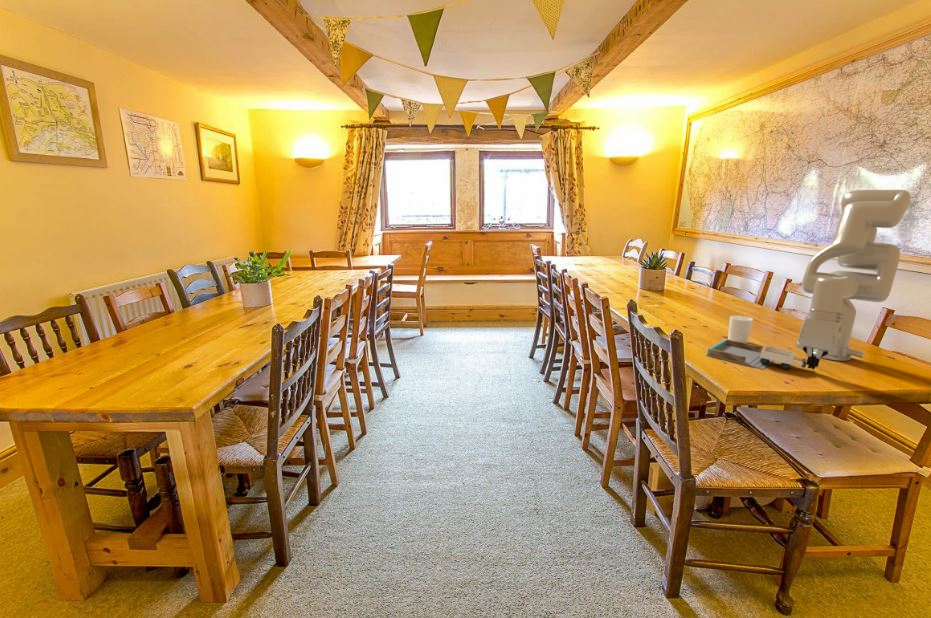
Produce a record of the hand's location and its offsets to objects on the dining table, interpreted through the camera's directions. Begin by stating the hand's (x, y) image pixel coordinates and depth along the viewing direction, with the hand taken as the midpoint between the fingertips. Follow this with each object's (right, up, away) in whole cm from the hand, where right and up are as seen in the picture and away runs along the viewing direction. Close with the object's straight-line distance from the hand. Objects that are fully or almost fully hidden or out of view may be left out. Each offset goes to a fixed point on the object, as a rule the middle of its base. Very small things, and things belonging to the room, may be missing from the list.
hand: (811, 367), depth 143 cm
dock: (-13, +2, +15) cm, 20 cm away
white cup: (-5, +6, +32) cm, 33 cm away
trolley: (-6, 0, +5) cm, 8 cm away
